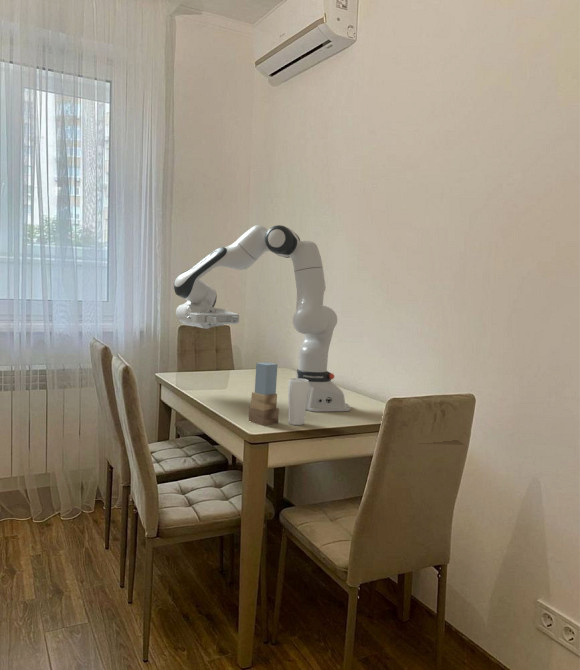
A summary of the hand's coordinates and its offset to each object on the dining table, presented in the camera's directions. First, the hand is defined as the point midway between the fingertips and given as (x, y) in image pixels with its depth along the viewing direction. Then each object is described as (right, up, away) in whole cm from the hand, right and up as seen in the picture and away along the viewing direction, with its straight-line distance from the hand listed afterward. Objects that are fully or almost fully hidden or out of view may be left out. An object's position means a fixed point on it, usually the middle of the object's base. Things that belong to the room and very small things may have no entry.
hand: (227, 320), depth 215 cm
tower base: (+14, -35, -19) cm, 42 cm away
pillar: (+15, -25, -20) cm, 35 cm away
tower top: (+14, -30, -20) cm, 39 cm away
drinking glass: (+25, -36, -19) cm, 48 cm away
